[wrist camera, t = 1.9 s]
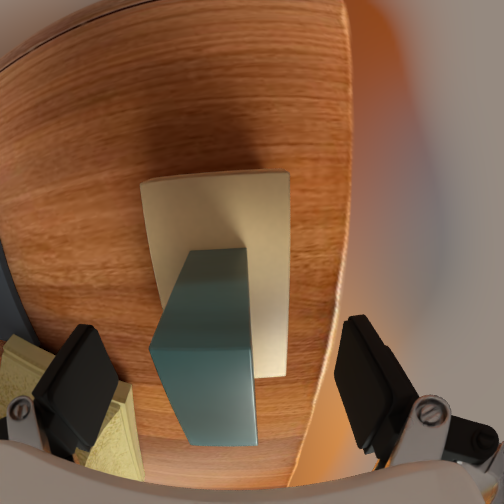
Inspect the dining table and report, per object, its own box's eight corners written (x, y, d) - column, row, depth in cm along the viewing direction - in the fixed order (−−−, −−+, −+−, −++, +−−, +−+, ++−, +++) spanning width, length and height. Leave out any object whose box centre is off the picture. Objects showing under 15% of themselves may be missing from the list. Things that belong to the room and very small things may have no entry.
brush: (162, 173, 13) (46, 229, 4) (278, 165, 13) (346, 206, 5) (190, 342, 17) (166, 468, 9) (279, 339, 17) (301, 468, 9)
